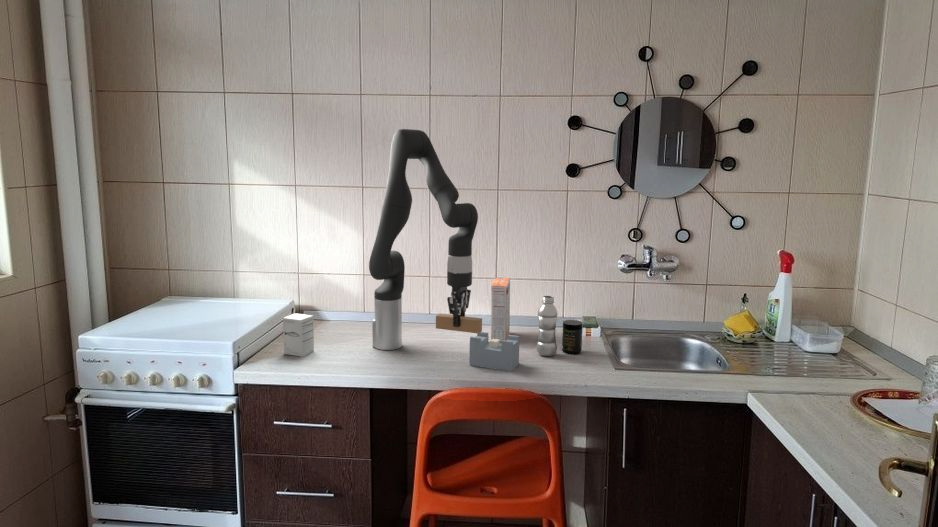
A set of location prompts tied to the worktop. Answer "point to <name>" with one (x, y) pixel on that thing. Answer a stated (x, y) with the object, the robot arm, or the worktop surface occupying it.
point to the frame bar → (466, 325)
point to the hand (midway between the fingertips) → (458, 324)
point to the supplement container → (572, 337)
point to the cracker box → (500, 309)
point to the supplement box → (298, 334)
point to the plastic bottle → (547, 327)
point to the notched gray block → (494, 352)
